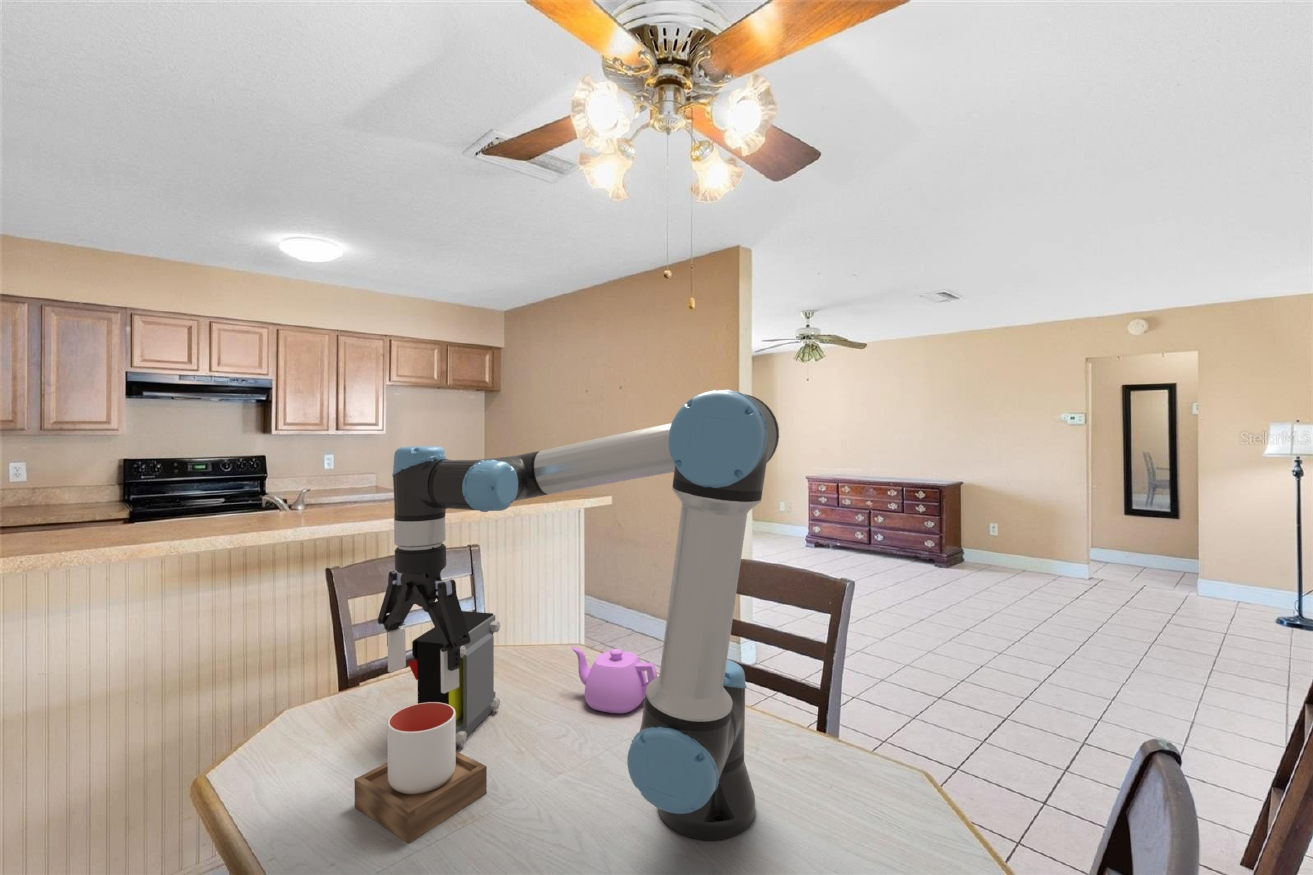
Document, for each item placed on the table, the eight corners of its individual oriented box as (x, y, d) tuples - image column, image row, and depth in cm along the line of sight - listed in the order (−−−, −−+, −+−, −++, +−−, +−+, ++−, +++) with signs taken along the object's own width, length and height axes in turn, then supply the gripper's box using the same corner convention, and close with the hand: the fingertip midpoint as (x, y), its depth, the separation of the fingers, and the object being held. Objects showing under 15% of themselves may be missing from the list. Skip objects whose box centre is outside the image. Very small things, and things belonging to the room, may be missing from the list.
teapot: (583, 682, 140) (583, 634, 140) (666, 694, 134) (667, 644, 134) (557, 708, 127) (557, 656, 127) (647, 723, 121) (648, 668, 121)
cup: (440, 754, 103) (440, 696, 103) (466, 780, 96) (466, 718, 95) (378, 777, 96) (378, 715, 96) (401, 807, 89) (400, 740, 89)
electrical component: (459, 754, 109) (459, 645, 109) (408, 748, 111) (408, 640, 111) (503, 709, 127) (503, 614, 126) (458, 704, 129) (458, 610, 128)
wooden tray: (486, 793, 98) (486, 766, 98) (408, 843, 87) (408, 812, 86) (432, 765, 106) (432, 739, 106) (354, 807, 94) (354, 779, 94)
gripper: (493, 549, 91) (495, 689, 92) (395, 533, 105) (397, 654, 106) (451, 559, 85) (453, 709, 85) (353, 540, 99) (355, 669, 99)
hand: (422, 679), depth 96 cm, fingers open, 13 cm apart
